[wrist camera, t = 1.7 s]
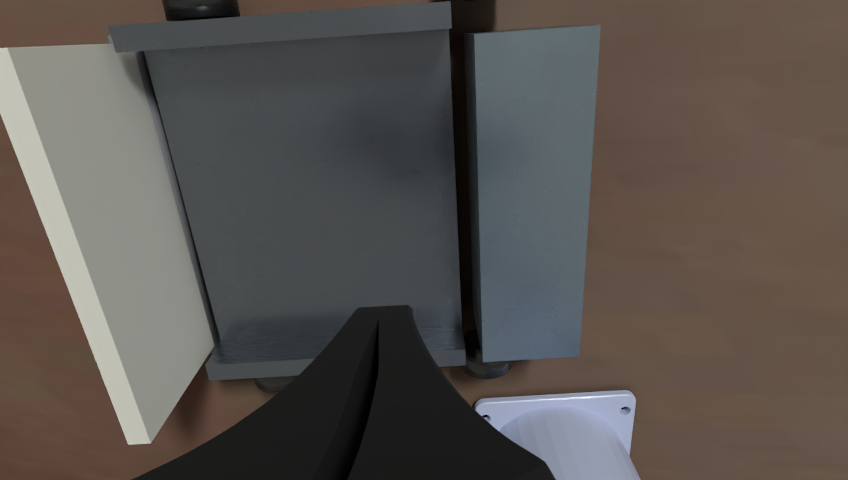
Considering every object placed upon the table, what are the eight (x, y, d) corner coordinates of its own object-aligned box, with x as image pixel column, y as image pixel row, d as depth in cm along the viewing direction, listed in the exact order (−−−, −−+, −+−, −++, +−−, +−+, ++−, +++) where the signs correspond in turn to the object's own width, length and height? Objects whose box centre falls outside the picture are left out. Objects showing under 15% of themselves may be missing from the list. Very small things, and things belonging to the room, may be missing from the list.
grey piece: (555, 342, 24) (580, 398, 20) (236, 362, 24) (204, 420, 21) (571, -38, 18) (611, -56, 14) (142, -6, 18) (72, -15, 15)
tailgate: (224, 341, 24) (156, 449, 18) (200, 342, 24) (123, 451, 18) (143, 33, 19) (6, 34, 12) (113, 35, 19) (-39, 37, 12)
